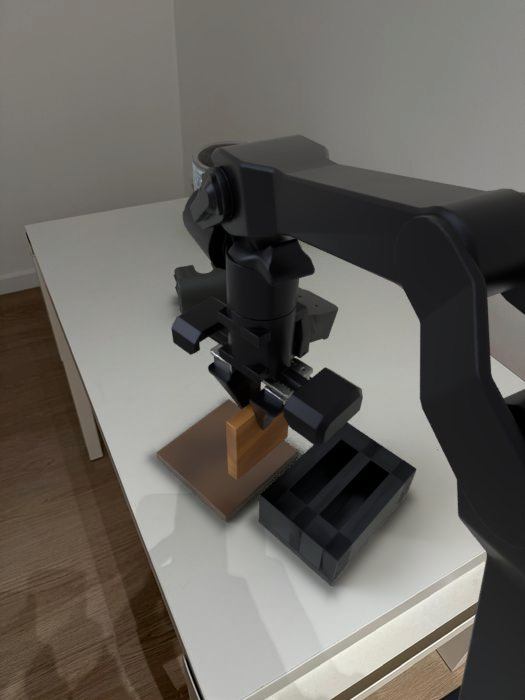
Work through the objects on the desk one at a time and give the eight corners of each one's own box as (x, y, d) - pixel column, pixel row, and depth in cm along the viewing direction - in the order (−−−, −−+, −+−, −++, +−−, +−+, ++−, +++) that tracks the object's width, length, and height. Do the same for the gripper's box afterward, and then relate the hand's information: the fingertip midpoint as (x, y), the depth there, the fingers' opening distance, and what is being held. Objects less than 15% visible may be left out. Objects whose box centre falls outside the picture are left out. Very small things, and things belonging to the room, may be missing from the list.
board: (297, 456, 62) (298, 450, 62) (226, 522, 56) (225, 516, 55) (228, 404, 68) (228, 398, 68) (157, 458, 62) (155, 452, 61)
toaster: (410, 491, 59) (421, 463, 56) (331, 586, 51) (337, 561, 47) (341, 442, 64) (347, 413, 61) (258, 522, 56) (259, 494, 52)
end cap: (184, 326, 80) (180, 290, 76) (174, 299, 85) (170, 265, 80) (245, 313, 83) (245, 278, 78) (232, 288, 88) (231, 254, 83)
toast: (287, 437, 58) (292, 384, 52) (237, 481, 53) (235, 429, 48) (278, 430, 58) (281, 377, 53) (227, 473, 54) (225, 421, 48)
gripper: (415, 305, 41) (381, 427, 52) (249, 223, 51) (249, 341, 61) (330, 375, 35) (311, 498, 46) (159, 268, 45) (176, 391, 55)
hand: (259, 422), depth 52 cm, fingers closed on toast, 1 cm apart
